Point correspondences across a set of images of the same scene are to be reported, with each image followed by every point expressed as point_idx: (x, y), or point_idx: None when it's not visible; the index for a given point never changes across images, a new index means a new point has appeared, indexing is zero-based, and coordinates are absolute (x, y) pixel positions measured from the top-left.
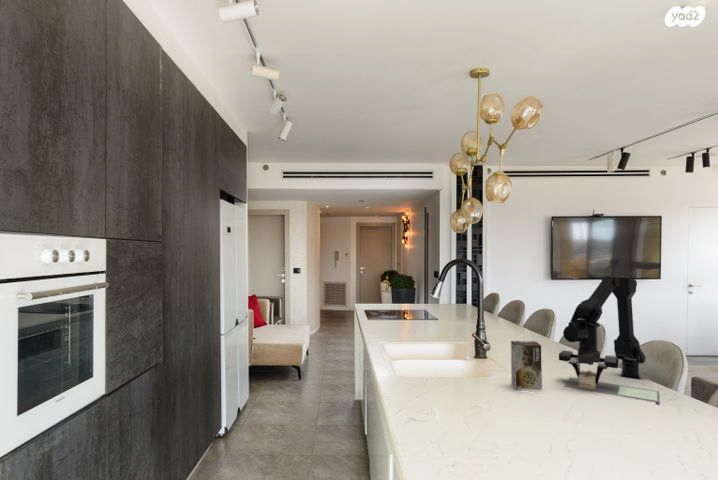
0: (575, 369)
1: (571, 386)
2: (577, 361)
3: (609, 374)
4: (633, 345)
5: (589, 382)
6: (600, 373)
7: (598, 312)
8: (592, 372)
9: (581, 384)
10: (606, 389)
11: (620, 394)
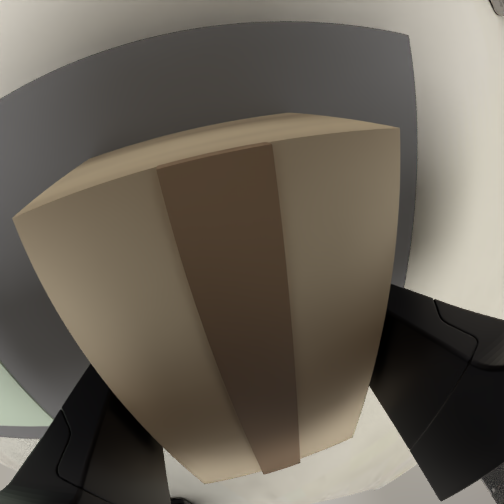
0: (478, 321)
1: (357, 72)
2: (490, 469)
3: (225, 492)
4: None
5: (142, 150)
6: (35, 450)
7: None
8: (240, 462)
9: (268, 117)
10: (27, 286)
11: None
